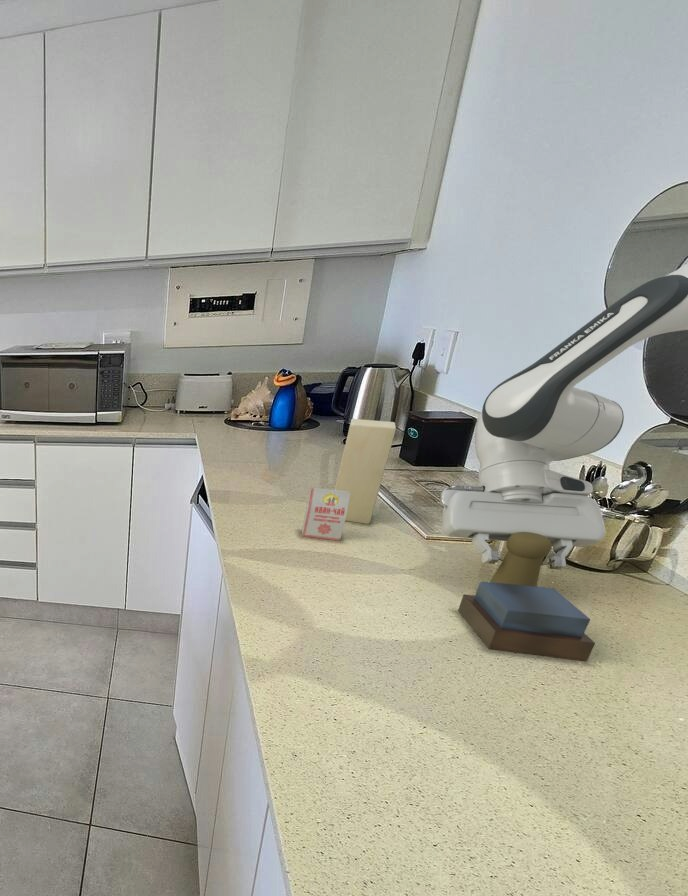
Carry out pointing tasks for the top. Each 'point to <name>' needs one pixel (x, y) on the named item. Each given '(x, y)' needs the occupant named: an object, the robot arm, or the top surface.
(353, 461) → the cream tall block
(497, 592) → the block stack
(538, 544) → the cork
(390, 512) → the top surface
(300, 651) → the top surface
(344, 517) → the tea bag
